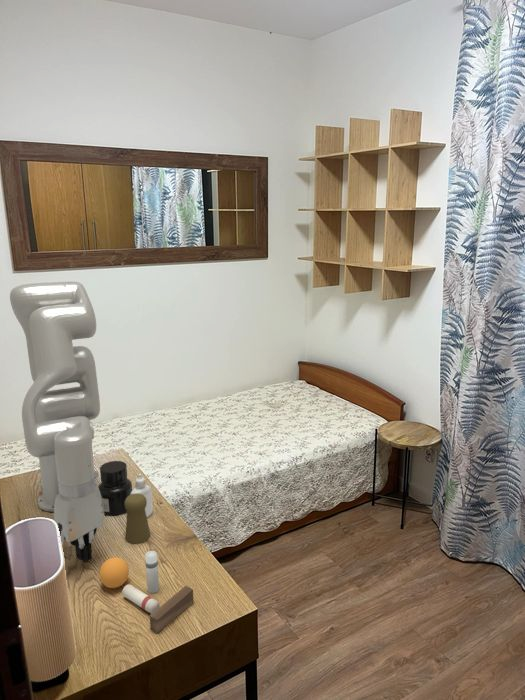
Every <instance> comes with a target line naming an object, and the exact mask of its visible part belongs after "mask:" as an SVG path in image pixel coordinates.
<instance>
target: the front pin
mask: <svg viewBox="0 0 525 700" xmlns="http://www.w3.org/2000/svg"><path fill="white" fill-rule="evenodd" d="M121 595H122V596H123V597H125V598H126V599H128V600H130V602H133V603H134V604H135V605H137V606H138V607H139V608H141V609H143V610H144V611H146V612H148V613H149V614H150V615H151V614H152V613H153V612H155V611H156V610H157V609H158V608H159V607H160V602H159V601H157V600H156V599H154V598H153V596H150V595H148V594H146V593H145V592H143V591H141V590H140V589H138V588H137V587H135V586H133V585H131V584H126V585H124V587H123V589H122V591H121Z"/></svg>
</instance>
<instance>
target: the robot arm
mask: <svg viewBox="0 0 525 700" xmlns="http://www.w3.org/2000/svg"><path fill="white" fill-rule="evenodd" d="M9 300H10V307H11V310H12V312H13V314H14V316H15V318H16V319H17V321H18V323H19V324H20V326H21V328H22V331H23V333H24V335H25V340H26V347H27V354H28V355H27V356H28V362H29V363H28V364H29V369H30V374H31V379H32V384H31V385H30V388H28V390H27V392H26V394H25V397H24V399H23V402H22V407H21V419H22V420H21V421H22V427H23V435H24V442H25V445H26V450H27V451H28V453H29V455H31V456H32V457H34V458H38V460H39V469H40V477H41V481H39V483H38V485H37V486H38V487H40V488H41V490H42V494H41V495H39V497H38V499H37V506H38V507H39V508H40V509H41V510H43V511H45V512H50V513H51V512H52V513H53V514H54V515H53V516H54V517H53V519H54V520H53V521H55V522H56V523H57V525H58V528H59V531H60V536H61V542H62V548H63V549H65V548H68V547H71V546H73V547H74V548H75V556H76V559H78V560H79V561H81V562H83V563H85V564H86V563H88V562H89V561H91V560H92V559H93V555H92V554H93V553H92V552H93V549H92V543H93V542H94V537H95V535H96V533H97V532H98V530H99V529H100V528H101V527H103V526H104V520H105V514H104V508H103V502H102V497H101V494H100V490H99V488H98V486H99V484H97V481H96V479H97V478H98V477H99V472H98V471H97V470H95V463H94V453H93V440H94V437H95V428H94V424H93V422H92V421H93V420H95V419H96V418H97V417H99V415H100V412H101V402H100V393H99V384H98V376H97V369H96V361H95V357H94V355H93V353H92V350H91V349H90V348H88V347H87V346H84V345H79V346H78V345H77V346H76V345H75V346H74V344H73V341H75V340H82V339H90V338H93V337H94V336H95V334H96V332H97V318H96V314H95V311H94V307H93V305H92V302H91V299H90V297H89V296H88V293H87V290H86V288H85V286H84V285H83V284H82V283H80V282H77V281H57V282H56V281H55V282H38V283H37V282H36V283H26V284H21V285H18V286H15V287H13V288H12V289H11V290H10V293H9ZM74 383H77V384H79V386H75V387H74V386H73V387H66V388H58V389H52V388H53V387H54V386H58V385H60V386H61V385H65V384H67V385H68V384H74ZM50 389H52V390H50ZM60 536H59V537H60Z"/></svg>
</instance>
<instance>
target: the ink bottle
mask: <svg viewBox="0 0 525 700" xmlns="http://www.w3.org/2000/svg"><path fill="white" fill-rule="evenodd" d="M99 471H100V481H101V482H100V483H99V484H98V488H99V490H100V494H101V497H102V502H103V508H104V515H106V516H117V515H121V514H125V513H127V510H126V509H125V504H124V503H125V500H126V498H127V497H128V496H129V495H130V494H131V492H132V490H133V483H132V480H130V479H129V478H128V468H127V463H126V462H125V461H121V460H113V461H112V460H111V461H108V462H104V463H103V464H102V465H101V466H100V467H99Z"/></svg>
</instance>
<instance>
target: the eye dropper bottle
mask: <svg viewBox="0 0 525 700" xmlns="http://www.w3.org/2000/svg"><path fill="white" fill-rule="evenodd" d="M134 482H135V487H134V488H132V492H131V494H136V493H138V494H142V495H144V496H145V498H146V501H147V504H146V507H145V512H146V516H147V518H149V517H150V516H151V515H152V514H153V512H154V507H153V504H154V503H153V494H152V492H153V490H152V487H151V486H150V485H148V484H146V478H145V477H143V475H142V473H138V475H137V477H136V478H135V481H134ZM131 494H130V495H131Z"/></svg>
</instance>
